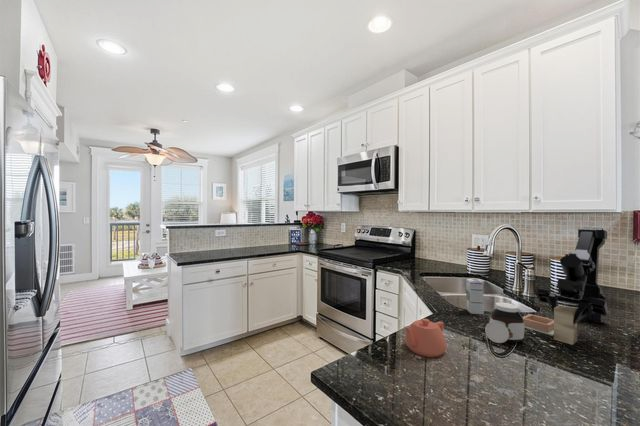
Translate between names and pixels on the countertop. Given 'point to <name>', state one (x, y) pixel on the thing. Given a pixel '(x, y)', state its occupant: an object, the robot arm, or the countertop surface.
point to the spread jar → (505, 324)
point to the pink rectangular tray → (539, 324)
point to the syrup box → (474, 296)
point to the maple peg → (565, 325)
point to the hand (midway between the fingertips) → (564, 320)
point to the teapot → (426, 338)
